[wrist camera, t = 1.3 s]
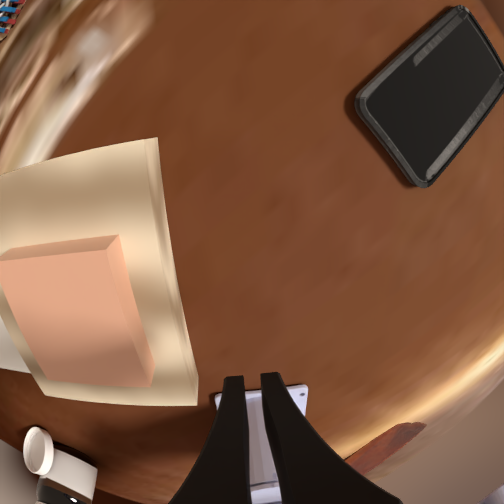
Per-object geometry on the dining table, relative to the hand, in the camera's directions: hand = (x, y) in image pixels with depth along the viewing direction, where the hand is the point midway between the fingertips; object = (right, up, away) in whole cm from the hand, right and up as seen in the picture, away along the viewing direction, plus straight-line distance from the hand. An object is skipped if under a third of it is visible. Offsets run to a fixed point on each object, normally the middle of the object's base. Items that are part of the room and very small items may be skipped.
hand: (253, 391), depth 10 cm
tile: (-11, +2, +5) cm, 12 cm away
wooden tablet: (+15, -28, +25) cm, 40 cm away
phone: (+13, +17, +5) cm, 22 cm away
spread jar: (-26, -22, +18) cm, 39 cm away
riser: (-12, +3, +8) cm, 14 cm away
